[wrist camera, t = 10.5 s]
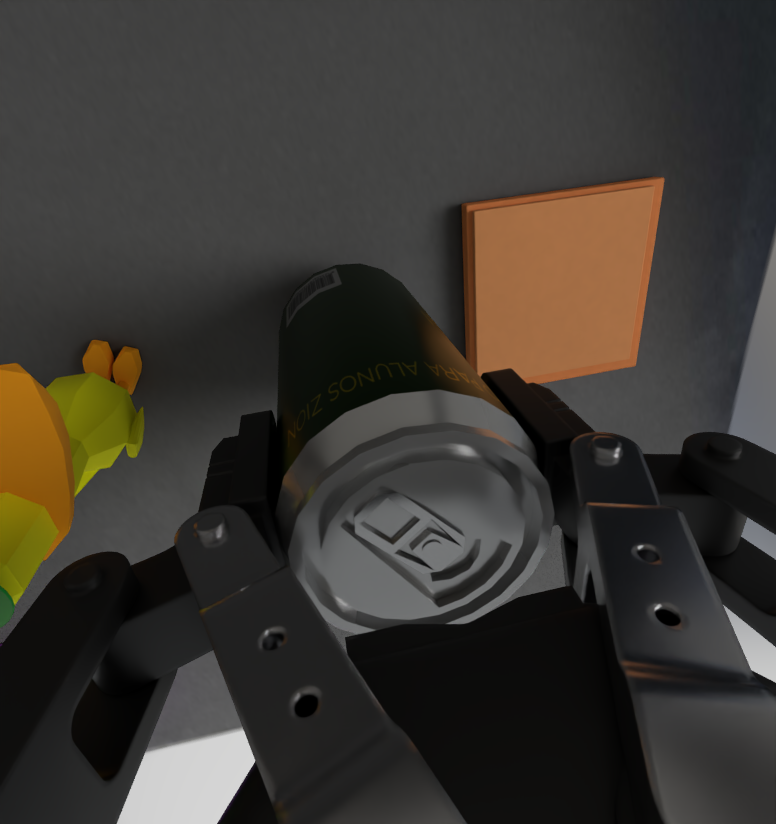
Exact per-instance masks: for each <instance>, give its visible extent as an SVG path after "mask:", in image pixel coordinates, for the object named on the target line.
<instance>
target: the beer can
mask: <svg viewBox="0 0 776 824" xmlns="http://www.w3.org/2000/svg"><path fill="white" fill-rule="evenodd" d="M554 515H555V512H554V507H553V503H552V498H551V493H550V489H549V484H548V482H547V481H546V479H545V478H544V477H543V475H542V474H541V471H540V467H539V462H538V458H537V453H536V449H535V446H534V444H533V443H532V442H531V440H530V439H529V438H528V436H527V435H526V433H525V432H524V431H523V429H522V428H521V427H520V425H519V424H518V422H517V421H516V420H515V418H514V417H513V416H512V415H511V414H510V412H509V411H508V410H507V409H506V408H505V406H504V405H503V404H502V403H501V402H500V400H499V399H498V398H497V397H496V396H495V394H494V393H493V392H492V391H491V390H490V388H489V387H488V386H487V385H486V384H485V382H484V381H483V380H482V379H481V378H480V376H479V375H478V374H477V373H476V372H475V370H474V369H473V368H472V367H471V366H470V364H469V363H468V362H467V361H466V359H465V358H464V357H463V356H462V355H461V353H460V352H459V351H458V350H457V349H456V347H455V346H454V345H453V344H452V343H451V341H450V340H449V339H448V338H447V337H446V335H445V334H444V333H443V332H442V331H441V329H440V328H439V327H438V326H437V325H436V323H435V322H434V321H433V320H432V319H431V317H430V316H429V315H428V314H427V313H426V311H425V310H424V309H423V308H422V307H421V305H420V304H419V303H418V302H417V301H416V299H415V298H414V297H413V296H412V295H411V293H410V292H409V291H408V290H407V289H406V287H405V286H404V285H403V284H402V283H401V282H400V281H398V280H397V279H396V278H394V277H393V276H391V275H390V274H388V273H387V272H385V271H384V270H382V269H378V268H374V267H371V266H367V265H363V264H346V265H335V266H333V267H330V268H328V269H325V270H323V271H320V272H318V273H315V274H313V275H312V276H311V277H310V278H309V279H307V280H306V281H305V282H304V283H303V284H302V285H300V286H299V287H298V288H297V289H296V290H295V291H294V293H293V295H292V296H291V298H290V300H289V301H288V303H287V305H286V306H285V308H284V311H283V316H282V320H281V325H280V330H279V362H278V404H277V445H276V487H275V517H276V523H277V529H278V535H279V540H280V544H281V548H282V550H283V552H284V553H285V555H286V556H287V558H288V559H289V562H290V568H291V569H292V571H293V572H294V574H295V575H296V577H297V578H298V580H299V581H300V583H301V584H302V586H303V587H304V589H305V590H306V592H307V593H308V595H309V597H310V598H311V600H312V601H313V603H314V604H315V606H316V607H317V609H318V610H319V612H320V613H321V615H322V616H323V618H324V619H325V620H326V621H327V622H329V623H330V624H332V625H333V626H335V627H336V628H339V629H342V630H345V631H349V632H352V633H355V634H362V633H366V632H371V631H375V630H379V629H384V628H388V627H392V626H397V625H401V624H465V623H469V622H471V621H473V620H475V619H477V618H479V617H481V616H483V615H484V614H486V613H487V612H489V611H490V610H492V609H493V608H495V607H497V606H498V605H500V604H501V603H503V602H504V601H506V600H507V599H508V598H509V597H510V596H511V595H512V594H513V593H514V592H515V591H516V590H517V589H518V588H519V587H520V586H521V585H522V584H523V583H524V582H525V581H526V580H527V579H528V578H529V577H530V576H531V575H532V574H533V572H534V570H535V569H536V567H537V565H538V563H539V561H540V560H541V558H542V556H543V554H544V552H545V551H546V549H547V547H548V545H549V542H550V536H551V531H552V526H553V520H554Z"/></svg>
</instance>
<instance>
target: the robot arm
mask: <svg viewBox="0 0 776 824" xmlns="http://www.w3.org/2000/svg"><path fill="white" fill-rule="evenodd" d="M481 379H482V380H483V381H484V382H485V384H486V385H487V386H488V387H489V388H490V390H491V391H492V392H493V393H494V394H495V396H496V397H497V398H498V399H499V400H500V402H501V403H502V404H503V405H504V406H505V408H506V409H507V410H508V411H509V412H510V414H511V415H512V416H513V417H514V418H515V420H516V421H517V422H518V424H519V425H520V427H521V428H522V429H523V431H524V432H525V433H526V435H527V436H528V438H529V439H530V440H531V442H532V443H533V444H534V446H535V449H536V453H537V458H538V462H539V467H540V471H541V474H542V475H543V477H544V478H545V479H546V481H547V482H548V484H549V489H550V493H551V498H552V503H553V507H554V512H555V515H554V520H553V526H554V525H559V526H560V528H561V529H562V535H561V550H562V559H563V568H564V576H565V585H566V586H565V587H561V588H557V589H552V590H548V591H544V592H539V593H535V594H531V595H526V596H522V597H518V598H516V599H514V600H512V601H510V602H508V603H506V604H504V605H502V606H500V607H499V608H497V609H495V610H493V611H491V612H489V613H487V614H485V615H483V616H481V617H479V618H477V619H475V620H473V621H471V622H469V623H465V624H401V625H397V626H392V627H388V628H384V629H379V630H375V631H371V632H366V633H362V634H358V635H353V636H349V637H345V640H346V648H347V653H346V651H345V650H344V648H343V647H342V645H341V644H340V642H339V641H338V639H337V638H336V636H335V635H334V633H333V632H332V630H331V629H330V627H329V626H328V624H327V622H326V621H325V619H324V618H323V616H322V615H321V613H320V612H319V610H318V609H317V607H316V606H315V604H314V603H313V601H312V600H311V598H310V597H309V595H308V593H307V592H306V590H305V589H304V587H303V586H302V584H301V583H300V581H299V580H298V578H297V577H296V575H295V574H294V572H293V571H292V569H291V568H290V562H289V559H288V558H287V556H286V555H285V553H284V552H283V550H282V548H281V544H280V540H279V535H278V529H277V523H276V517H275V487H276V445H277V426H276V422H275V418H274V415H273V412H272V411H271V410H269V411H264V412H258V413H253V414H247V415H242V416H241V422H240V428H239V435H238V436H234V437H228V438H223V440H222V441H221V442H220V443H219V444H218V445H217V447H216V448H215V449H214V450H213V451H212V455H211V459H210V463H209V466H210V467H209V468H208V472H207V478H206V481H205V485H204V489H203V494H202V498H201V502H200V507H199V511H198V513H197V514H195V515H193V516H192V517H190V518H189V519H188V520H186V521H185V522H184V523H183V524H182V525H181V527H180V528H179V529H178V531H177V533H176V535H175V539H174V543H175V545H174V546H173V547H171V548H169V549H168V550H166V551H164V552H162V553H160V554H157V555H155V556H153V557H150V558H148V559H146V560H143V561H141V562H139V563H136V564H134V565H132V566H131V565H130V563H129V561H128V559H127V558H126V557H125V556H124V555H123V554H120V553H118V552H100V553H96V554H92V555H89V556H86V557H84V558H82V559H80V560H78V561H76V562H74V563H72V564H70V565H69V566H67V567H66V568H64V569H63V570H62V571H61V572H59V573H58V574H57V575H56V576H55V577H54V578H53V579H52V580H51V581H50V582H49V583H48V585H47V586H46V587H45V589H44V590H43V591H42V593H41V594H40V595H39V597H38V598H37V599H36V600H35V602H34V603H33V604H32V606H31V607H30V608H29V610H28V611H27V612H26V614H25V615H24V616H23V618H22V619H21V620H20V621H19V623H18V624H17V625H16V627H15V628H14V629H13V631H12V632H11V633H10V635H9V636H8V637H7V639H6V640H5V641H4V643H3V644H2V645H1V646H0V824H117V821H118V819H119V816H120V814H121V811H122V808H123V806H124V804H125V801H126V799H127V796H128V794H129V791H130V789H131V786H132V783H133V781H134V779H135V776H136V774H137V771H138V769H139V766H140V764H141V761H142V759H143V756H144V754H145V751H146V749H147V746H148V744H149V741H150V739H151V736H152V734H153V731H154V729H155V726H156V724H157V721H158V719H159V716H160V714H161V711H162V709H163V706H164V704H165V701H166V699H167V696H168V694H169V691H170V689H171V686H172V684H173V681H174V679H175V676H176V673H177V669H178V668H179V667H181V666H183V665H185V664H187V663H189V662H191V661H193V660H195V659H197V658H198V657H200V656H202V655H204V654H206V653H208V652H210V651H212V650H214V653H215V655H216V658H217V661H218V663H219V666H220V669H221V671H222V674H223V676H224V679H225V682H226V684H227V687H228V690H229V692H230V695H231V697H232V700H233V703H234V705H235V708H236V711H237V713H238V716H239V718H240V721H241V724H242V726H243V729H244V731H245V734H246V737H247V739H248V742H249V745H250V747H251V750H252V752H253V755H254V758H255V763H254V765H253V766H252V768H251V770H250V771H249V773H248V774H247V776H246V778H245V779H244V781H243V783H242V784H241V786H240V787H239V789H238V791H237V793H236V794H235V796H234V797H233V799H232V801H231V802H230V804H229V805H228V807H227V809H226V810H225V812H224V813H223V815H222V817H221V819H220V820H219V822H218V823H217V824H776V683H775V682H773V681H771V680H769V679H767V678H765V677H763V676H761V675H759V674H758V673H755V672H754V671H752V670H751V669H750V666H749V664H748V662H747V659H746V657H745V655H744V653H743V650H742V648H741V646H740V643H739V641H738V639H737V636H736V634H735V632H734V629H733V627H732V625H731V622H730V620H729V618H728V615H727V613H726V611H725V609H724V606H726V607H727V608H728V609H730V610H731V611H732V612H733V613H734V614H736V615H737V616H738V617H739V618H741V619H742V620H743V621H744V622H746V623H747V624H748V625H749V626H750V627H752V628H753V629H754V630H756V631H757V632H758V633H759V634H760V635H762V636H763V637H764V638H765V639H767V640H768V641H769V642H770V643H772V644H773V645H774V646H775V647H776V560H775V559H774V558H772V557H771V556H769V555H768V554H766V553H765V552H763V551H762V550H760V549H759V548H757V547H756V546H754V545H753V544H751V543H750V542H748V541H747V540H745V539H744V538H742V537H741V535H742V532H743V529H744V525H745V523H746V520H747V517H748V518H750V519H751V520H753V521H754V522H756V523H758V524H759V525H761V526H763V527H764V528H766V529H767V530H769V531H770V532H772V533H774V534H776V454H774V453H772V452H770V451H768V450H766V449H764V448H761V447H759V446H758V445H756V444H753V443H751V442H749V441H747V440H745V439H742V438H740V437H737V436H733V435H730V434H724V433H717V432H703V433H697V434H693V435H691V436H689V437H687V438H686V439H685V441H684V443H683V447H682V451H681V454H643V453H642V451H641V449H640V447H639V446H638V445H637V444H636V443H634V442H633V441H631V440H630V439H628V438H625V437H623V436H620V435H617V434H613V433H606V432H595V431H594V430H593V429H592V428H591V427H590V426H589V425H587V424H586V423H585V422H584V421H583V420H582V419H581V418H580V417H579V416H578V415H577V414H576V413H575V412H574V411H572V410H570V409H569V407H568V406H567V405H566V404H565V403H564V402H563V401H562V402H561V400H560V398H558V397H557V396H556V395H555V394H554V393H553V392H552V391H551V390H550V389H548V388H545V387H543V386H541V385H538V384H536V383H534V382H533V383H526V382H525V381H524V380H523V379H522V378H521V377H520V376H519V375H518V374H517V373H516V372H515V371H514V370H513V369H511V368H508V369H502V370H496V371H491V372H485V373H482V375H481ZM723 605H724V606H723Z"/></svg>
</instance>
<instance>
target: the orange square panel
mask: <svg viewBox="0 0 776 824" xmlns="http://www.w3.org/2000/svg"><path fill="white" fill-rule="evenodd" d="M663 185H664V178H662V177H650V178H643V179H636V180H629V181H621V182H614V183H607V184H600V185H593V186H586V187H578V188H571V189H564V190H557V191H550V192H542V193H535V194H528V195H521V196H514V197H507V198H499V199H492V200H485V201H478V202H471V203H464V204H462V239H463V273H464V307H465V340H466V361H467V362H468V363H469V364H470V366H471V367H472V368H473V369H474V370H475V372H476V373H477V374H478V375H479V376H480V378H481V375H482V373H485V372H491V371H496V370H502V369H508V368H511V369H513V370H514V371H515V372H516V373H517V374H518V375H519V376H520V377H521V378H522V379H523V380H524V381H525V382H526V383H533V382H534V383H536V384H540V383H546V382H551V381H556V380H562V379H567V378H573V377H578V376H584V375H589V374H595V373H600V372H605V371H611V370H616V369H622V368H627V367H633V366H635V365H636V360H637V353H638V347H639V340H640V334H641V327H642V321H643V314H644V308H645V301H646V295H647V288H648V282H649V276H650V269H651V263H652V256H653V250H654V243H655V237H656V230H657V224H658V217H659V211H660V204H661V198H662V192H663Z"/></svg>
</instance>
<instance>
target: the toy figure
mask: <svg viewBox="0 0 776 824" xmlns="http://www.w3.org/2000/svg"><path fill="white" fill-rule="evenodd" d="M82 360H83V367H84V370H85V372H86V373H85V374H78V375H72V376H65V377H59V378H55V379H54V380H53V381H52V383H51V384H50V385H49V386H48V387H47V388H46V389H45V388H44V387H43V386H42V385H41V384H40V383H39V382H37V381H36V380H35V379H34V378H33V377H32V376H31V375H30V374H29V373H28V372H26V371H25V370H24V369H23V368H22V367H21V366H20V365H19V364H18V363H12V364H4V365H0V628H1V627H3V626H4V625H5V624H6V623H7V622H9V620H10V618H11V617H12V615H13V613H14V607H15V604H16V603H17V601H18V600H19V598H20V597H21V596H22V594H23V593H24V591H25V589H26V588H27V586H28V584H29V583H30V581H31V579H32V577H33V576H34V574H35V572H36V571H37V569H38V567H39V565H40V564H41V562H42V560H44V561H46V559H47V558H48V557H49V556H50V554H51V553H52V552H53V551H54V549H55V548H56V547H57V546H58V544H59V543H60V542H61V541H62V540H63V538H64V537H65V536H66V535H67V533H68V532H69V530H70V527H71V523H72V520H73V516H74V497H75V496H76V495H77V494H78V493H79V492H80V491H81V489H82V488H83V487H84V486H85V485H86V484H87V483H88V481H89V480H90V479H91V478H92V477H93V476H94V475H95V473H96V472H97V471H98V470H99V469H103V468H109V467H111V466H112V464H113V463H114V461H115V460H116V458H117V457H118V455H119V454H120V452H121V451H122V449H123V448H124V446H125V445H126V450H127V453H128V456H130V457H131V458H134V457H137V454H138V452H139V450H140V447H141V445H142V442H143V433H144V411H143V406H142V407H141V408H140V410H139V411H138V413H136V410H135V408H134V405H133V402H132V400H131V397H130V395H132V394H133V392H134V389H135V386H136V384H137V381H138V379H139V376H140V373H141V369H142V361H141V357H140V354H139V350H138V349H136V348H132V347H127V346H124V347H123V348H122V350H121V352H120V353H119V355H118V357H117V358H116V360H115V362H114V356H113V353H112V351H111V348H110V346H109V343H108V342H106V341H100V340H92V341H91V343H90V345H89V347H88V349H87V351H86V353H85V355H84V357H83V359H82ZM112 371H113V376H114V379H115V383H116V384H115V383H113V382H111V381H110V379H111V375H112Z"/></svg>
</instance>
